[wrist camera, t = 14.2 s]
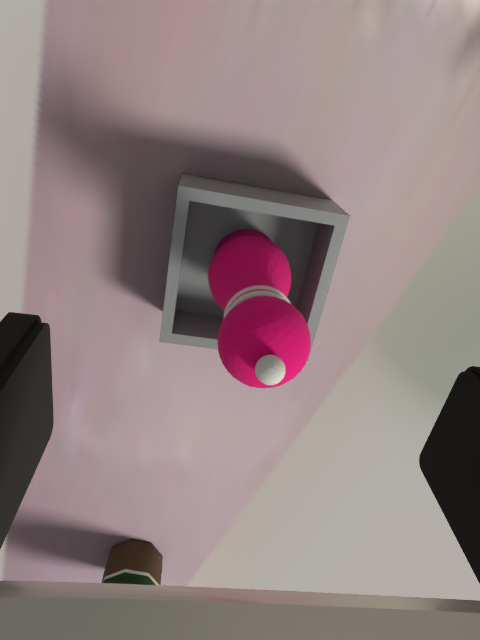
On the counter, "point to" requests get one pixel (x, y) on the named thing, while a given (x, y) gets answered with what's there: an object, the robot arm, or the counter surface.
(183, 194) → the bin
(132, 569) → the beer bottle
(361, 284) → the counter surface
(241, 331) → the pepper mill
